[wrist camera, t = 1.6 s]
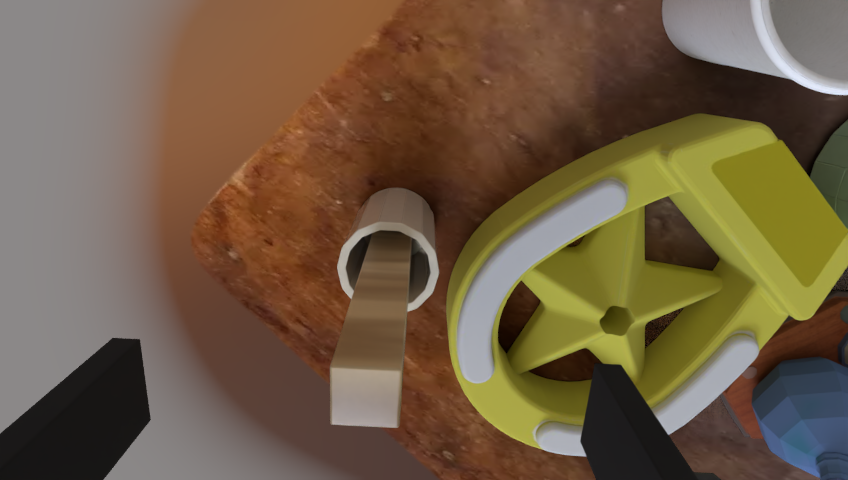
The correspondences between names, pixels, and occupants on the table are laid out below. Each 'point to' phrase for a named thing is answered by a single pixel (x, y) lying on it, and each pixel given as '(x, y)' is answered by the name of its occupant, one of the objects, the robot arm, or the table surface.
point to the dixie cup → (766, 37)
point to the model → (800, 391)
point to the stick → (374, 338)
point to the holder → (394, 214)
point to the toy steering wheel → (641, 275)
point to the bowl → (834, 172)
